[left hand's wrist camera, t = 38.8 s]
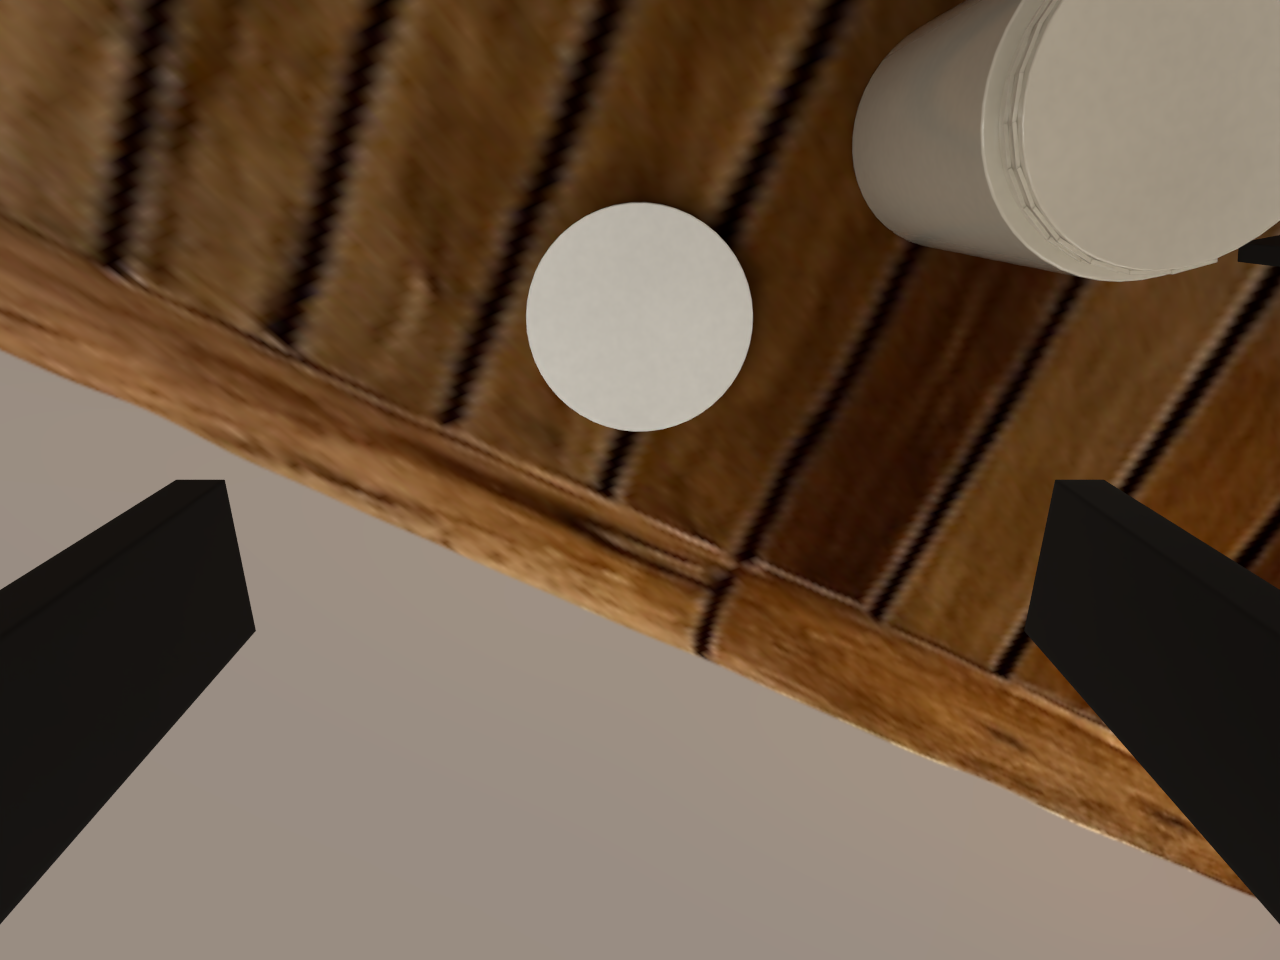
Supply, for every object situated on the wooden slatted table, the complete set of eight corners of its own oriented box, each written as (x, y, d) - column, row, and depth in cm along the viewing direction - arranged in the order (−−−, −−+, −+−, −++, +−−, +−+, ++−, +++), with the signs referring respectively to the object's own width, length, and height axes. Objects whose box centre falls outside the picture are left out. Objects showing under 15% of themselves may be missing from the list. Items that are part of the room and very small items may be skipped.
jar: (833, 50, 33) (983, -58, 19) (1062, -21, 32) (1406, -192, 18) (871, 273, 36) (1023, 328, 22) (1079, 214, 36) (1380, 232, 21)
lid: (687, 454, 40) (689, 465, 38) (497, 367, 38) (491, 375, 36) (787, 264, 36) (794, 268, 35) (584, 160, 35) (582, 159, 33)
